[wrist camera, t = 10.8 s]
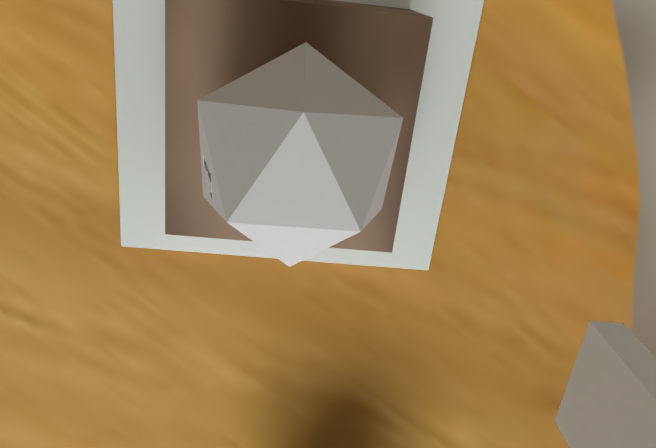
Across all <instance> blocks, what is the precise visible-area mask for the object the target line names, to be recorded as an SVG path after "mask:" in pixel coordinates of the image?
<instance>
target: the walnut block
mask: <svg viewBox="0 0 656 448" xmlns="http://www.w3.org/2000/svg"><path fill="white" fill-rule="evenodd" d="M432 23H433V18H432V17H430V16H427V15H424V14H421V13H419V12H416V11H413V10H410V9H403V8H395V7H386V6H378V5H369V4H361V3H353V2H344V1H336V0H165V234H168V235H180V236H193V237H205V238H217V239H230V240H242V241H252V240H251V239H249V238H248V237H246V236H245V235H244V234H242V233H241V232H239V231H238V230H237V229H235V228H234V227H232V226H231V225H230V224H228V223H227V222H226V221H225V220H224V219H223V218H222V217H221V216H220V215H219V213H218V212H217V211H216V210H215V209H214V208H213V207H212V206H211V205H210V203H209V202H208V201H207V200H206V199H205V198H204V197H203V187H202V170H201V154H200V137H199V120H198V104H197V100H199V99H201V98H203V97H204V96H206V95H208V94H210V93H212V92H214V91H216V90H218V89H219V88H221V87H223V86H225V85H227V84H229V83H231V82H232V81H234V80H236V79H238V78H240V77H242V76H244V75H246V74H247V73H249V72H251V71H253V70H255V69H257V68H259V67H260V66H262V65H264V64H266V63H268V62H270V61H272V60H274V59H275V58H277V57H279V56H281V55H283V54H285V53H287V52H289V51H290V50H292V49H294V48H296V47H298V46H300V45H302V44H303V43H305V42H307V43H308V44H309V45H310V46H312V47H313V48H314V49H316V50H317V51H318V52H319V53H321V54H322V55H323V56H325V57H326V58H327V59H328V60H330V61H331V62H332V63H333V64H335V65H336V66H337V67H339V68H340V69H341V70H342V71H344V72H345V73H346V74H348V75H349V76H350V77H351V78H353V79H354V80H355V81H357V82H358V83H359V84H360V85H362V86H363V87H364V88H366V89H367V90H368V91H369V92H371V93H372V94H373V95H375V96H376V97H377V98H378V99H380V100H381V101H382V102H384V103H385V104H386V105H387V106H389V107H390V108H391V109H393V110H394V111H395V112H396V113H398V114H399V115H400V116H402V117H403V121H402V126H401V130H400V134H399V138H398V142H397V147H396V151H395V155H394V159H393V163H392V168H391V172H390V176H389V180H388V185H387V189H386V193H385V197H384V201H383V206H382V209H381V210H380V211H379V213H378V214H377V215H376V216H375V217H374V218H373V219H372V220H371V221H370V222H369V223H368V224H367V226H366V227H365V228H364V229H363V230H362V231H361V232H359V233H357V234H355V235H353V236H351V237H349V238H347V239H345V240H343V241H341V242H339V243H337V244H335V245H333V246H331V247H329V248H341V249H353V250H365V251H378V252H390V253H392V250H393V244H394V239H395V233H396V227H397V222H398V216H399V210H400V205H401V199H402V193H403V188H404V182H405V176H406V170H407V165H408V159H409V153H410V148H411V142H412V136H413V131H414V125H415V119H416V114H417V108H418V102H419V96H420V91H421V85H422V79H423V74H424V68H425V62H426V57H427V51H428V45H429V40H430V34H431V28H432Z"/></svg>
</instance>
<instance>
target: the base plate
mask: <svg viewBox="0 0 656 448" xmlns="http://www.w3.org/2000/svg"><path fill="white" fill-rule="evenodd" d="M336 1H344V2H353V3H361V4H369V5H378V6H386V7H395V8H403V9H410V10H413V11H416V12H419V13H421V14H424V15H427V16H430V17H432V18H433V23H432V28H431V34H430V40H429V45H428V51H427V57H426V62H425V68H424V74H423V79H422V85H421V91H420V96H419V102H418V108H417V114H416V119H415V125H414V131H413V136H412V142H411V148H410V153H409V159H408V165H407V170H406V176H405V182H404V188H403V193H402V199H401V205H400V210H399V216H398V222H397V227H396V233H395V239H394V244H393V250H392V253H390V252H378V251H365V250H353V249H341V248H327V249H325V250H323V251H321V252H319V253H317V254H315V255H313V256H310V257H308V258H306V259H304V260H303V261H316V262H329V263H341V264H354V265H367V266H379V267H392V268H405V269H418V270H428V269H429V264H430V260H431V255H432V250H433V245H434V240H435V235H436V231H437V226H438V221H439V216H440V211H441V206H442V201H443V197H444V192H445V187H446V182H447V177H448V172H449V168H450V163H451V158H452V153H453V148H454V143H455V139H456V134H457V129H458V124H459V119H460V114H461V110H462V105H463V100H464V95H465V90H466V85H467V81H468V76H469V71H470V66H471V61H472V56H473V51H474V47H475V42H476V37H477V32H478V27H479V22H480V18H481V13H482V8H483V3H484V0H336ZM113 22H114V51H115V80H116V109H117V139H118V168H119V197H120V226H121V246H125V247H138V248H151V249H163V250H176V251H189V252H201V253H214V254H227V255H240V256H252V257H265V258H276V257H275V256H273V255H272V254H270V253H269V252H268V251H266V250H265V249H263V248H262V247H261V246H259V245H258V244H256V243H255V242H254V241H242V240H230V239H217V238H205V237H193V236H180V235H168V234H165V0H113Z"/></svg>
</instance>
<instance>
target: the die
mask: <svg viewBox="0 0 656 448" xmlns="http://www.w3.org/2000/svg"><path fill="white" fill-rule="evenodd" d="M197 104H198V120H199V137H200V154H201V170H202V187H203V197H204V198H205V199H206V200H207V201H208V202H209V203H210V205H211V206H212V207H213V208H214V209H215V210H216V211H217V212H218V213H219V215H220V216H221V217H222V218H223V219H224V220H225V221H226V222H227V223H228V224H230V225H231V226H232V227H234V228H235V229H237V230H238V231H239V232H241V233H242V234H244V235H245V236H246V237H248V238H249V239H251V240H252V241H254V242H255V243H256V244H258V245H259V246H261V247H262V248H263V249H265V250H266V251H268V252H269V253H270V254H272V255H273V256H275V257H276V258H278V259H279V260H280V261H282V262H283V263H285V264H286V265H287V266H289V267H290V266H292V265H294V264H296V263H298V262H300V261H302V260H304V259H306V258H308V257H310V256H313V255H315V254H317V253H319V252H321V251H323V250H325V249H327V248H329V247H331V246H333V245H335V244H337V243H339V242H341V241H343V240H345V239H347V238H349V237H351V236H353V235H355V234H357V233H359V232H361V231H362V230H363V229H364V228H365V227H366V226H367V224H368V223H369V222H370V221H371V220H372V219H373V218H374V217H375V216H376V215H377V214H378V213H379V211H380V210H381V209H382V206H383V201H384V197H385V193H386V189H387V185H388V180H389V176H390V172H391V168H392V163H393V159H394V155H395V151H396V147H397V142H398V138H399V134H400V130H401V126H402V121H403V117H402V116H400V115H399V114H398V113H396V112H395V111H394V110H393V109H391V108H390V107H389V106H387V105H386V104H385V103H384V102H382V101H381V100H380V99H378V98H377V97H376V96H375V95H373V94H372V93H371V92H369V91H368V90H367V89H366V88H364V87H363V86H362V85H360V84H359V83H358V82H357V81H355V80H354V79H353V78H351V77H350V76H349V75H348V74H346V73H345V72H344V71H342V70H341V69H340V68H339V67H337V66H336V65H335V64H333V63H332V62H331V61H330V60H328V59H327V58H326V57H325V56H323V55H322V54H321V53H319V52H318V51H317V50H316V49H314V48H313V47H312V46H310V45H309V44H308V43H307V42H305V43H303V44H302V45H300V46H298V47H296V48H294V49H292V50H290V51H289V52H287V53H285V54H283V55H281V56H279V57H277V58H275V59H274V60H272V61H270V62H268V63H266V64H264V65H262V66H260V67H259V68H257V69H255V70H253V71H251V72H249V73H247V74H246V75H244V76H242V77H240V78H238V79H236V80H234V81H232V82H231V83H229V84H227V85H225V86H223V87H221V88H219V89H218V90H216V91H214V92H212V93H210V94H208V95H206V96H204V97H203V98H201V99H199V100H197Z"/></svg>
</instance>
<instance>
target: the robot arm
mask: <svg viewBox="0 0 656 448" xmlns="http://www.w3.org/2000/svg"><path fill="white" fill-rule="evenodd" d="M555 422H556V424H557V426H558V428H559V429H560V431H561V433H562V435H563V436H564V438H565V440H566V442H567V443H568V445H569V447H570V448H656V358H655V357H654V356H653V355H652V354H651V353H650V352H649V351H648V350H647V348H646V347H645V346H644V345H643V344H642V343H641V342H640V341H639V340H638V339H637V338H636V336H635V335H634V334H633V333H632V332H631V331H630V330H629V329H628V328H627V327H626V326H625V324H624V323H611V322H597V321H589V324H588V327H587V330H586V333H585V335H584V338H583V341H582V344H581V347H580V350H579V353H578V356H577V359H576V361H575V364H574V367H573V370H572V373H571V376H570V379H569V382H568V385H567V387H566V390H565V393H564V396H563V399H562V402H561V405H560V408H559V410H558V413H557V416H556V419H555Z"/></svg>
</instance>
